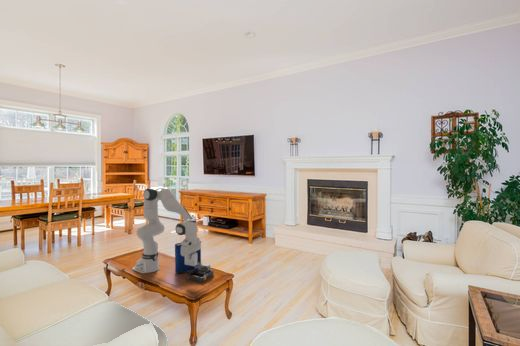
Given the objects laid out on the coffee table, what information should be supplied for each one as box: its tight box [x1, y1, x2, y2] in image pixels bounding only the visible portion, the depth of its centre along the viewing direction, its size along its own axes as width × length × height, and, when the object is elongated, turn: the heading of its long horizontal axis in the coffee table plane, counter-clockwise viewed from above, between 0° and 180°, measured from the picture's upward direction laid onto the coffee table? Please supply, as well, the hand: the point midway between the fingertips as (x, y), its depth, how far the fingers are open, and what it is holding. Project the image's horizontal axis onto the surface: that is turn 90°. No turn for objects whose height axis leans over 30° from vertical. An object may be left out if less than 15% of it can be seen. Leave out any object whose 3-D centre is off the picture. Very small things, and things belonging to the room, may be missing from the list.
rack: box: [187, 262, 215, 284], centre depth 210 cm, size 13×16×9 cm
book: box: [174, 240, 202, 275], centre depth 223 cm, size 22×7×25 cm, turn 126°
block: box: [185, 252, 198, 266], centre depth 201 cm, size 9×4×9 cm, turn 67°
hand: (191, 258), depth 201 cm, fingers closed on block, 4 cm apart
